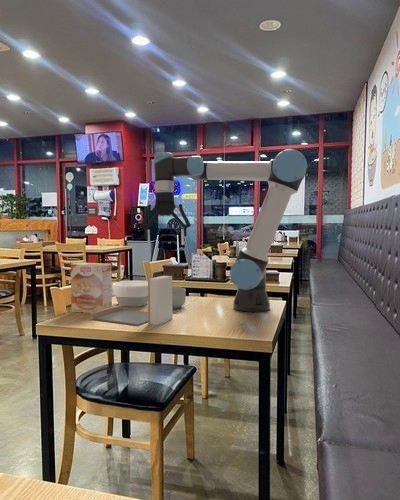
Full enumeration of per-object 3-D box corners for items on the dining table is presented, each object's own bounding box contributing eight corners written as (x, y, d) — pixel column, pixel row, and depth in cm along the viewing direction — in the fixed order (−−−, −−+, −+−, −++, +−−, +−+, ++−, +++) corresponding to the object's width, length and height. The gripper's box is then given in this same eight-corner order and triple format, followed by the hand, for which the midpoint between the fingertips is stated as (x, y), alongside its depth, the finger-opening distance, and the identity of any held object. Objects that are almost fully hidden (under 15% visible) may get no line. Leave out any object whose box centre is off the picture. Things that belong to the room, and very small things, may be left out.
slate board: (165, 315, 154) (165, 309, 154) (138, 325, 138) (138, 319, 138) (121, 310, 164) (121, 304, 163) (90, 319, 147) (90, 313, 147)
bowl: (106, 307, 169) (106, 285, 168) (120, 299, 187) (120, 280, 186) (147, 308, 167) (147, 286, 166) (157, 300, 184) (157, 280, 184)
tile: (172, 319, 148) (172, 276, 147) (157, 325, 139) (157, 279, 138) (163, 318, 150) (163, 275, 149) (148, 323, 141) (147, 278, 140)
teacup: (187, 305, 174) (187, 286, 174) (184, 310, 163) (184, 291, 163) (156, 304, 176) (155, 286, 175) (150, 309, 165) (150, 290, 164)
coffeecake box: (70, 312, 161) (69, 263, 159) (81, 308, 167) (80, 262, 166) (102, 314, 156) (101, 264, 154) (112, 311, 162) (111, 263, 161)
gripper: (193, 192, 165) (195, 244, 166) (132, 193, 161) (134, 245, 162) (196, 191, 158) (198, 244, 159) (132, 191, 154) (134, 246, 155)
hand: (166, 245), depth 161 cm, fingers open, 13 cm apart
